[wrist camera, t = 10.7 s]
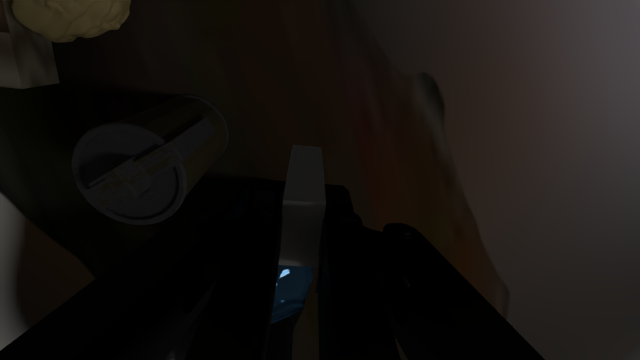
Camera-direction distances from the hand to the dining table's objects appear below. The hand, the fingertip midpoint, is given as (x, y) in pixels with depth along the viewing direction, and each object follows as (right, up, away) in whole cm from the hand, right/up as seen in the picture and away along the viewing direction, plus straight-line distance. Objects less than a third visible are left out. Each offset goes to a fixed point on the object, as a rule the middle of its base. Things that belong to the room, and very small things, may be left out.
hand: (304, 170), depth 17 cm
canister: (-17, +7, +29) cm, 34 cm away
